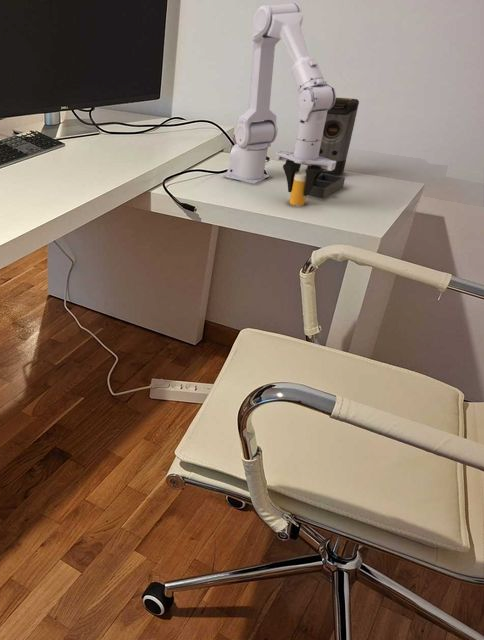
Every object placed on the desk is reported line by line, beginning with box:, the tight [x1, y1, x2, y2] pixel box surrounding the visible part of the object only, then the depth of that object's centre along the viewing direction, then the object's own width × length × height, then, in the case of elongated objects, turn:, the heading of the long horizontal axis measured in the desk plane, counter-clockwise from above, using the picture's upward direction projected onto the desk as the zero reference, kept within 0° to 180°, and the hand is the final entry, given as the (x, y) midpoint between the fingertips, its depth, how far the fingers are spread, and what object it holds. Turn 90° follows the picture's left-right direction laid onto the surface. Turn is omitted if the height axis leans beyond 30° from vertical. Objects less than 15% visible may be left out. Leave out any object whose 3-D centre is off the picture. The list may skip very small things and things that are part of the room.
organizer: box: [307, 173, 346, 200], centre depth 175 cm, size 6×12×3 cm, turn 133°
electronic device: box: [306, 97, 360, 177], centre depth 182 cm, size 9×6×20 cm, turn 58°
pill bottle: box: [289, 170, 307, 206], centre depth 167 cm, size 4×4×8 cm
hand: (298, 192), depth 168 cm, fingers closed on pill bottle, 3 cm apart
